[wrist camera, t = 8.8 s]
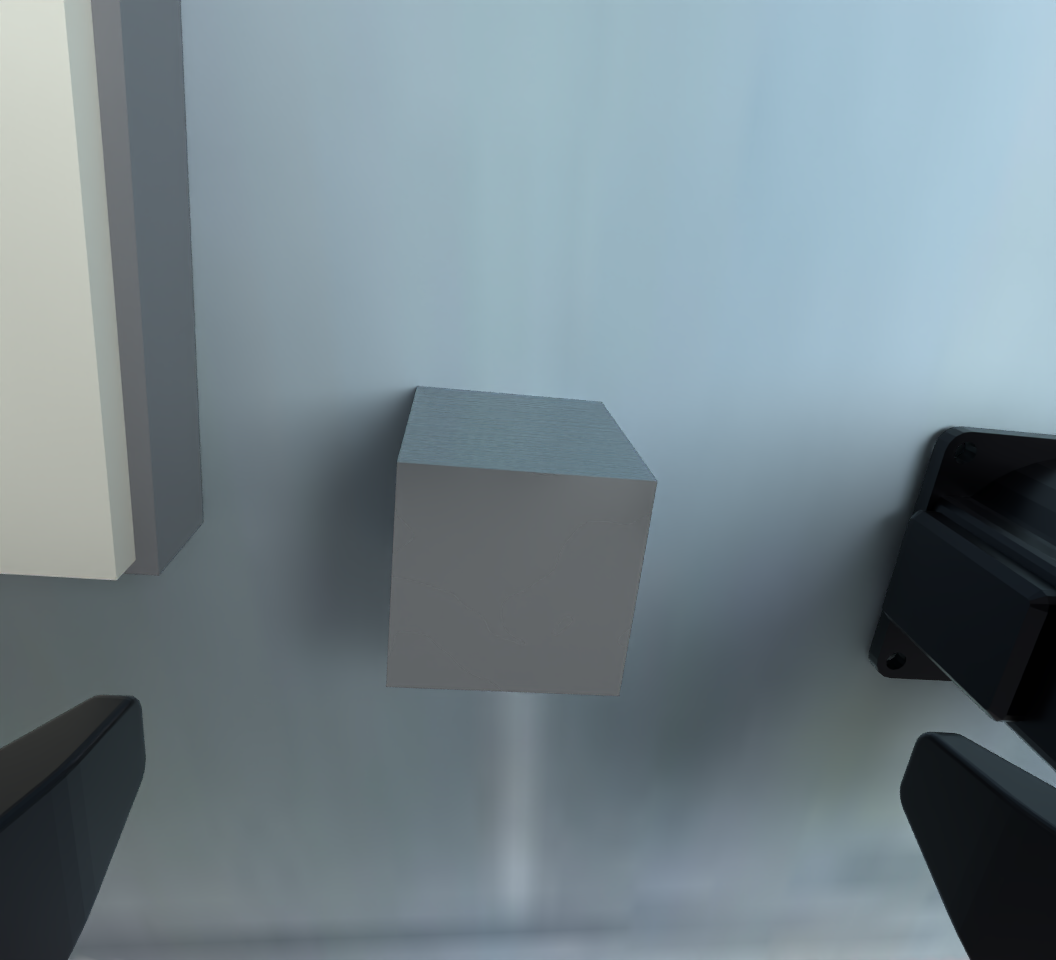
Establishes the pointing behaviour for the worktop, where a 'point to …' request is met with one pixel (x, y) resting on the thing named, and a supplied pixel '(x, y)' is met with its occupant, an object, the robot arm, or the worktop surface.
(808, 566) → the worktop surface
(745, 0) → the worktop surface
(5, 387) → the scale
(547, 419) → the block
